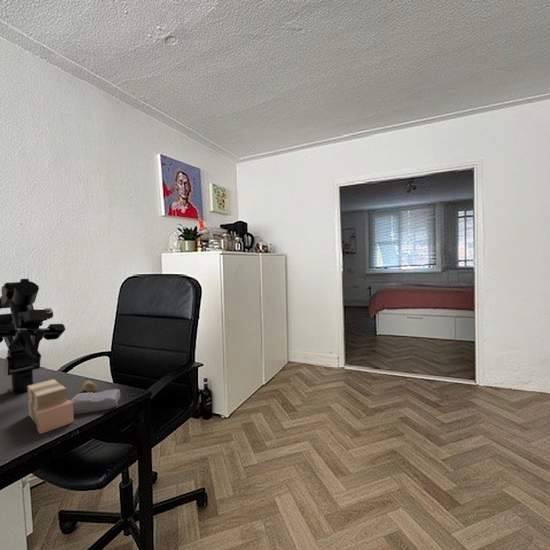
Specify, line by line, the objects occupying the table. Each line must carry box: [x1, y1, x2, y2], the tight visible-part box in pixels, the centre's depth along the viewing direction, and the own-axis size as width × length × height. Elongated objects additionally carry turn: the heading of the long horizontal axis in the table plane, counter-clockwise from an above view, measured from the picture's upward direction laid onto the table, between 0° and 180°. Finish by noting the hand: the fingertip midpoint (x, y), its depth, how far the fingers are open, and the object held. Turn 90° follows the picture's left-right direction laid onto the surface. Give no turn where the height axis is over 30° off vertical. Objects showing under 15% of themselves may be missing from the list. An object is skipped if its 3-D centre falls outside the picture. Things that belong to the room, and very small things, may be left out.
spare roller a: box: [81, 380, 99, 393], centre depth 98 cm, size 5×3×3 cm
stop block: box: [36, 399, 75, 435], centre depth 76 cm, size 3×7×5 cm, turn 139°
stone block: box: [70, 388, 121, 416], centre depth 88 cm, size 12×5×10 cm
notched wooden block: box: [27, 378, 68, 426], centre depth 81 cm, size 12×6×8 cm, turn 49°
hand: (34, 356), depth 92 cm, fingers closed
